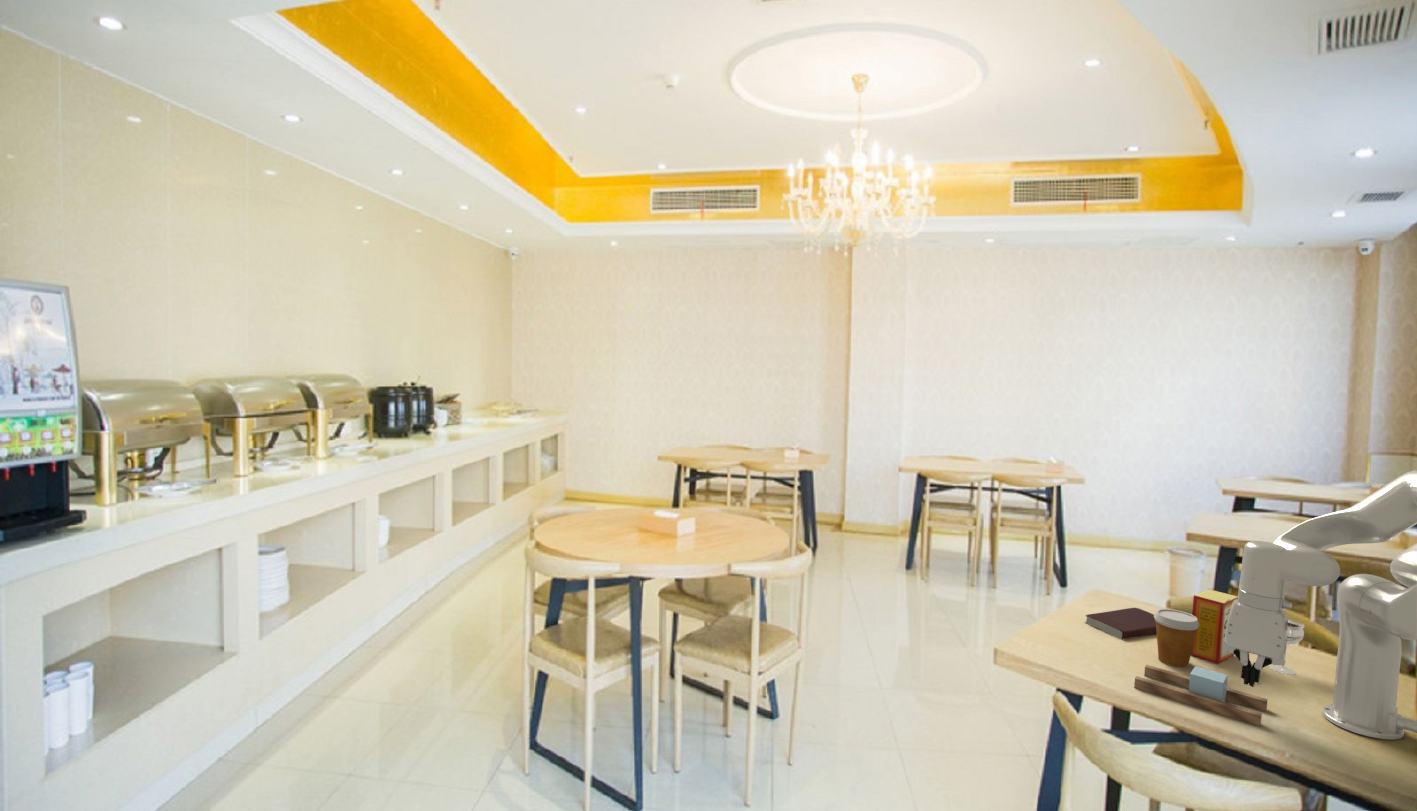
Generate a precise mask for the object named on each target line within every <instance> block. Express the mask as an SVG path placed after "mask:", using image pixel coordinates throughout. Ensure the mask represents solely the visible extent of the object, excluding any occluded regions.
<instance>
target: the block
mask: <svg viewBox="0 0 1417 811" xmlns="http://www.w3.org/2000/svg"><path fill="white" fill-rule="evenodd" d="M1189 677H1190V681H1189V689H1188V692H1192V693H1195V694H1198V695H1202V696H1205V697H1208V698H1212V699H1215V700H1218V701H1222V702H1225V703H1226V701H1227V700H1226V689H1227V688H1228V687H1227V686H1228V674H1225V673H1221V672H1218V671H1214V670H1210V669H1207V668H1204V667H1200V666H1197V665H1196V666H1194V668H1193V669H1192V670H1191V672H1190V674H1189Z"/></svg>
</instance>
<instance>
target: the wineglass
mask: <svg viewBox="0 0 1417 811" xmlns="http://www.w3.org/2000/svg"><path fill="white" fill-rule="evenodd" d="M1287 623H1288V629H1287V644H1286V651H1285V654H1284V657H1285V658H1286V655H1287V650H1288V649H1287V648H1288V646H1289V645H1292V644H1293V645H1294V644H1297V643H1299V642H1301V641H1302V640H1303V639H1304V636H1305V632H1304V628H1305V624H1304V623H1302V622H1299V621H1297V620H1294V619H1290V618H1287ZM1269 668H1270V669H1271V670H1273V671H1275V672H1278V673H1280V674H1283V675H1284V674H1285V675H1296V674H1297V673H1296V671H1295V670H1294V669H1291V668H1289V667H1287V666H1285V665H1283V666H1281V665H1272V664H1271V665H1269Z"/></svg>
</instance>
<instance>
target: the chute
mask: <svg viewBox="0 0 1417 811" xmlns="http://www.w3.org/2000/svg"><path fill="white" fill-rule="evenodd" d="M1143 676H1144V677H1141V676H1136V677H1134V686H1133V687H1134V688H1135V689H1138V690H1140V691H1145V692H1147V693H1151V694H1153V695H1158V696H1160V697H1164V698H1167V699H1171V700H1172V701H1173V700H1174V701H1177V702H1180V703H1183V704H1186V705H1190V706H1192V707H1195V708H1199V709H1203V710H1206V711H1209V712H1211V713H1214V714H1215V713H1216V714H1218V715H1222V716H1225V717H1229V718H1232V719H1235V720H1238V721H1242V722H1244V723H1248V724H1250V725H1253V726H1254V725H1255V726H1257V727H1260V726H1261V724H1262V715H1263V714H1262V713H1261V712H1258V711H1254V710H1252V709H1256V710H1260V711H1263V712H1266V711H1267V709H1268V701H1269V700H1268V698H1265V697H1261V696H1257V695H1254V694H1251V693H1247V692H1244V691H1240V690H1238V689H1234V688H1229V687H1227V689H1226V701H1229V702H1233V703H1236V704H1239V705H1243V706H1246V707H1249V708H1252V709H1248V708H1245V707H1242V706H1237V705H1234V704H1231V703H1228V702H1226V701H1225V702H1222V701H1218V700H1215V699H1212V698H1208V697H1205V696H1202V695H1198V694H1195V693H1192V692H1189V681H1190V676H1188V675H1186V674H1185V675H1184V674H1181V673H1177V672H1174V671H1170V670H1167V669H1163V668H1160V667H1156V666H1153V665H1149V664H1146V665H1145V666H1144V673H1143ZM1145 677H1148V678H1152V679H1155V681H1154V680H1151V679H1147V678H1145ZM1156 680H1158V681H1161V682H1165V683H1169V684H1171V685H1175V686H1179V687H1182V688H1184V689H1187V690H1184V689H1181V688H1177V687H1175V686H1170V685H1168V684H1164V683H1161V682H1158V681H1156Z"/></svg>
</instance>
